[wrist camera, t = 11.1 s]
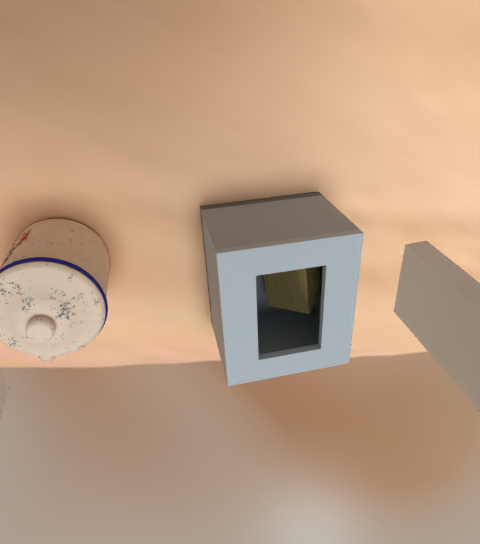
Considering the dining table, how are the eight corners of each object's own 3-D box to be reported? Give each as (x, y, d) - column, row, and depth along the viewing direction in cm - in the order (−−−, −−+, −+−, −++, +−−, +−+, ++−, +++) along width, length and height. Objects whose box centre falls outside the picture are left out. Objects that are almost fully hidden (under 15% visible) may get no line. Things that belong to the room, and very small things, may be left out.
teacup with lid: (11, 206, 37) (-34, 271, 27) (118, 223, 40) (112, 287, 30) (8, 317, 42) (-30, 406, 33) (103, 325, 45) (94, 409, 35)
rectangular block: (261, 255, 41) (305, 262, 38) (276, 238, 43) (318, 243, 41) (268, 305, 44) (309, 314, 42) (281, 287, 46) (321, 294, 44)
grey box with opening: (199, 206, 41) (216, 253, 32) (318, 191, 43) (363, 233, 34) (211, 322, 48) (228, 386, 39) (312, 305, 50) (349, 363, 41)
